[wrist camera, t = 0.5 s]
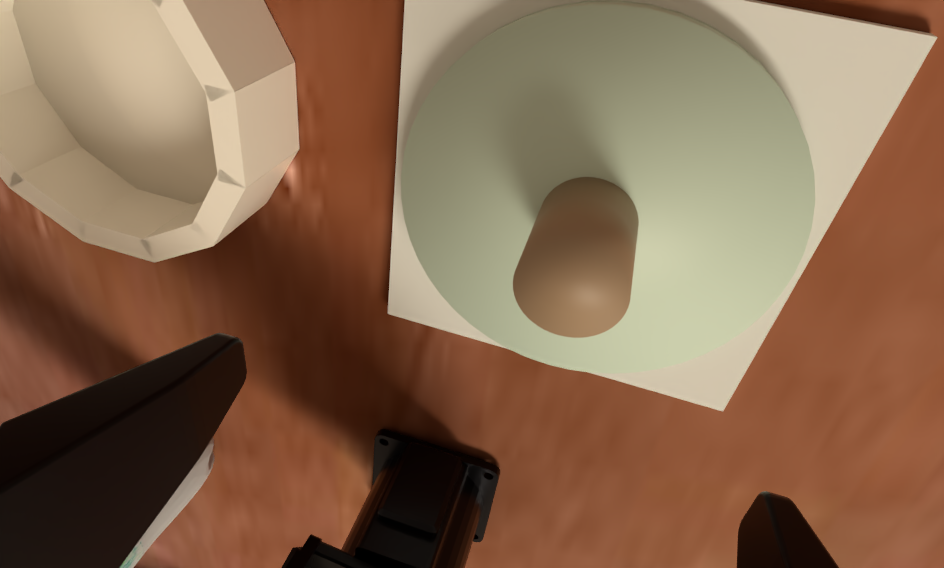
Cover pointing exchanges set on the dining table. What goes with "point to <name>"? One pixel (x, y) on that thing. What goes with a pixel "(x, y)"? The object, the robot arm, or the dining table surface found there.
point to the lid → (608, 187)
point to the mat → (784, 57)
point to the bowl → (145, 117)
